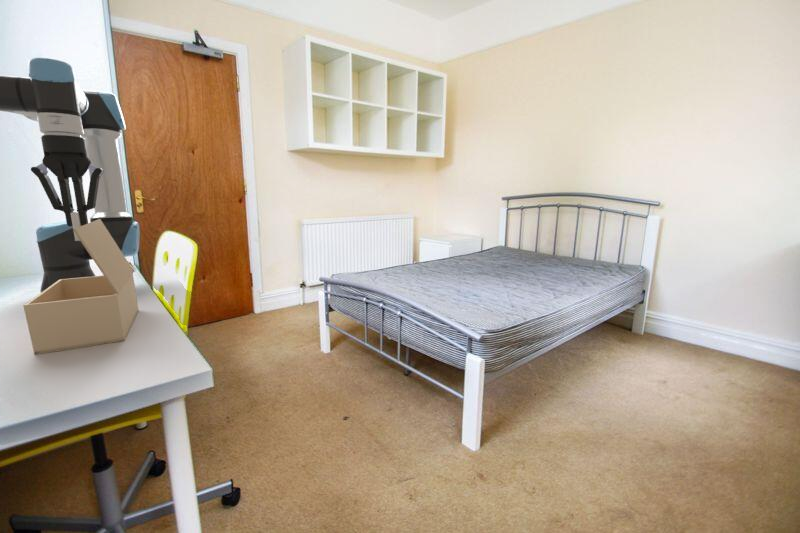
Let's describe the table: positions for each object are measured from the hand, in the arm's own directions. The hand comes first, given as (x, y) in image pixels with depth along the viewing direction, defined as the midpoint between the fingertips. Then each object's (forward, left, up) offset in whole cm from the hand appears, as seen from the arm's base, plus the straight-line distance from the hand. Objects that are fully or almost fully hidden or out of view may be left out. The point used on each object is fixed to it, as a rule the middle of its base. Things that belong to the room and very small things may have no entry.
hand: (80, 239), depth 93 cm
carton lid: (0, +5, -4) cm, 6 cm away
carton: (0, -1, -23) cm, 23 cm away
